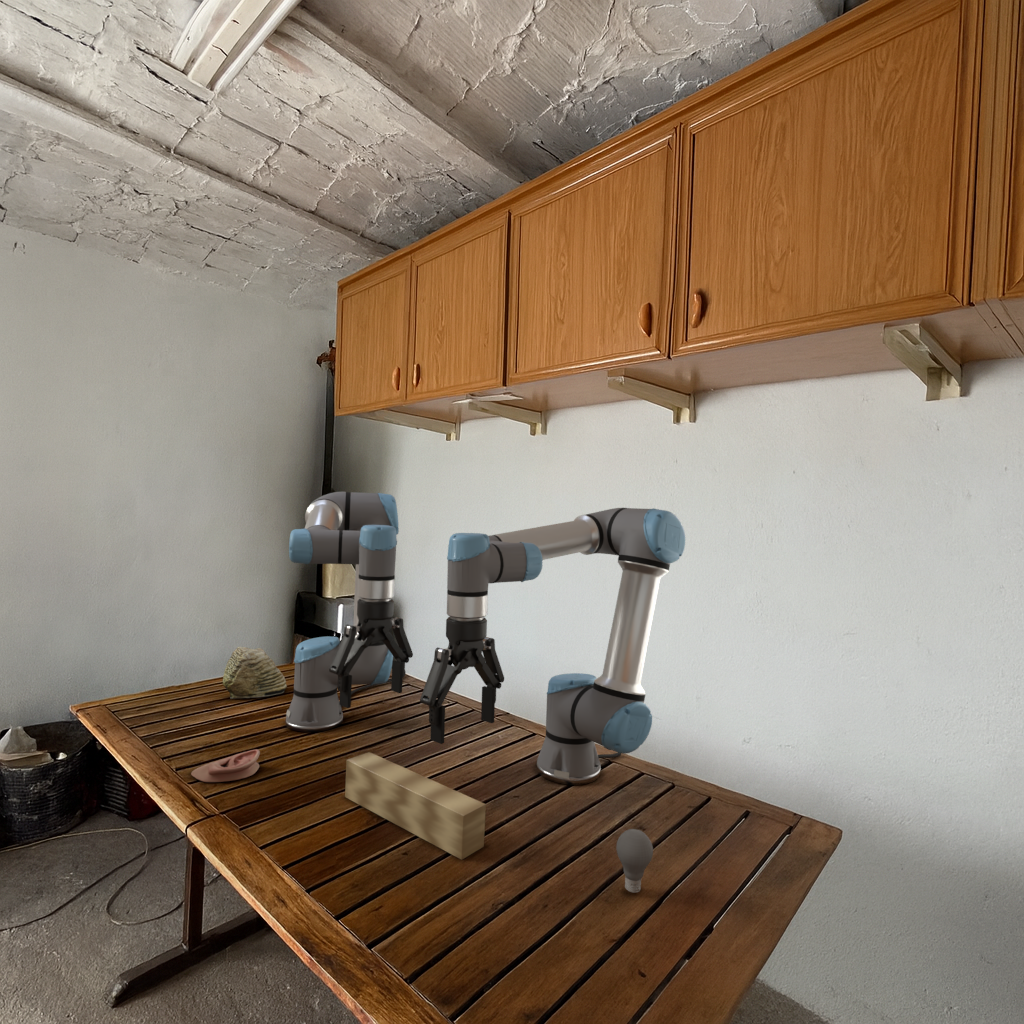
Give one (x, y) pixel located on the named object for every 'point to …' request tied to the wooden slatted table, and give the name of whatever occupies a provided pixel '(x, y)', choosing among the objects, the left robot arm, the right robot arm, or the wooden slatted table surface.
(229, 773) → the anatomical model
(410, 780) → the birch beam
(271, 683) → the fossil
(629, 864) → the light bulb
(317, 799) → the wooden slatted table surface
